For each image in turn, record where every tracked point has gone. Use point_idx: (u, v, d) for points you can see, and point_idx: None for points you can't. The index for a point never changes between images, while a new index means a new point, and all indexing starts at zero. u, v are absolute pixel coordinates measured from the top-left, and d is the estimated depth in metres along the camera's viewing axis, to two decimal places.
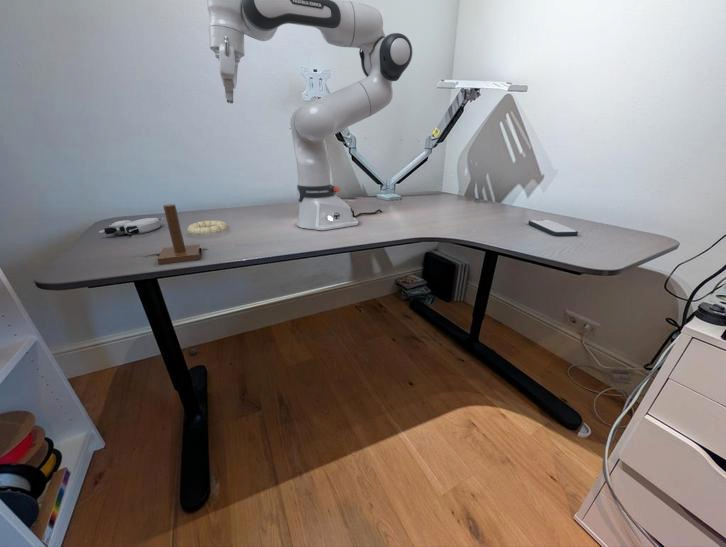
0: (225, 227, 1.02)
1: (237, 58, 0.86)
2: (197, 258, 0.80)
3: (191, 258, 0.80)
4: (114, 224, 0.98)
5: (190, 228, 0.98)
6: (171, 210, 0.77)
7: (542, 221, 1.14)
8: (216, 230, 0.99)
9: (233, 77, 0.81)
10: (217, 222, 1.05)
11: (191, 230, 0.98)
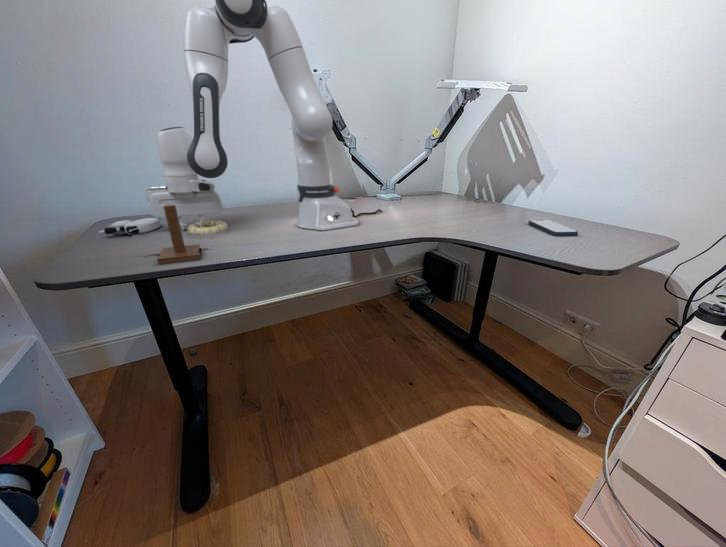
0: (225, 227, 1.02)
1: (177, 196, 0.94)
2: (197, 258, 0.80)
3: (191, 258, 0.80)
4: (114, 224, 0.98)
5: (190, 228, 0.98)
6: (171, 210, 0.77)
7: (542, 221, 1.14)
8: (216, 230, 0.99)
9: (154, 217, 0.95)
10: (217, 222, 1.05)
11: (191, 230, 0.98)
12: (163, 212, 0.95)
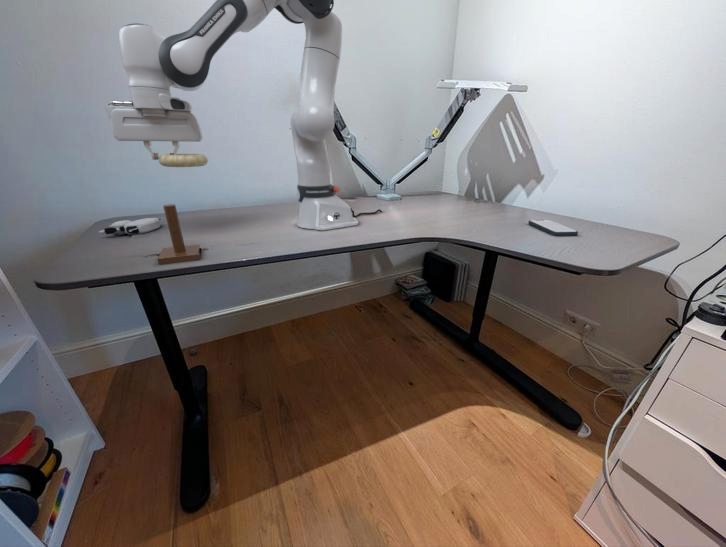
0: (204, 158, 0.87)
1: (145, 114, 0.79)
2: (197, 258, 0.80)
3: (191, 258, 0.80)
4: (114, 224, 0.98)
5: (161, 156, 0.83)
6: (171, 210, 0.77)
7: (542, 221, 1.14)
8: (192, 159, 0.84)
9: (118, 139, 0.79)
10: (195, 155, 0.90)
11: (162, 158, 0.82)
12: (128, 133, 0.79)
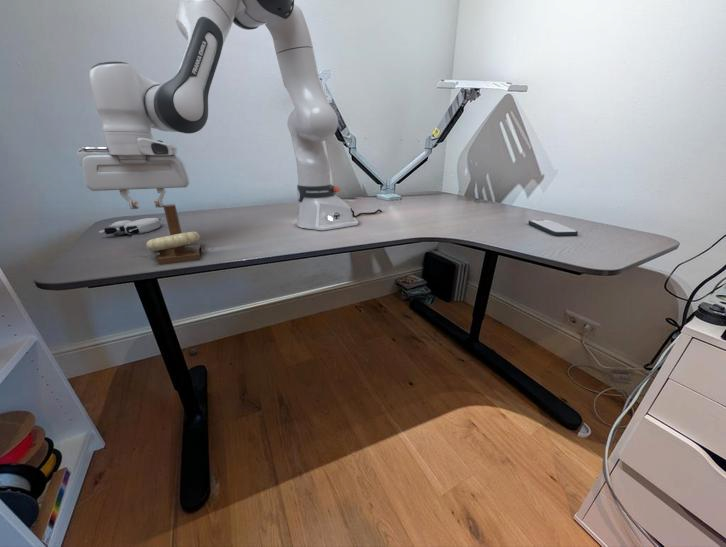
0: (194, 235, 0.80)
1: (122, 161, 0.69)
2: (197, 258, 0.80)
3: (191, 258, 0.80)
4: (114, 224, 0.98)
5: (149, 241, 0.77)
6: (171, 210, 0.77)
7: (542, 221, 1.14)
8: (181, 237, 0.77)
9: (91, 189, 0.69)
10: None
11: (149, 242, 0.76)
12: (103, 183, 0.69)
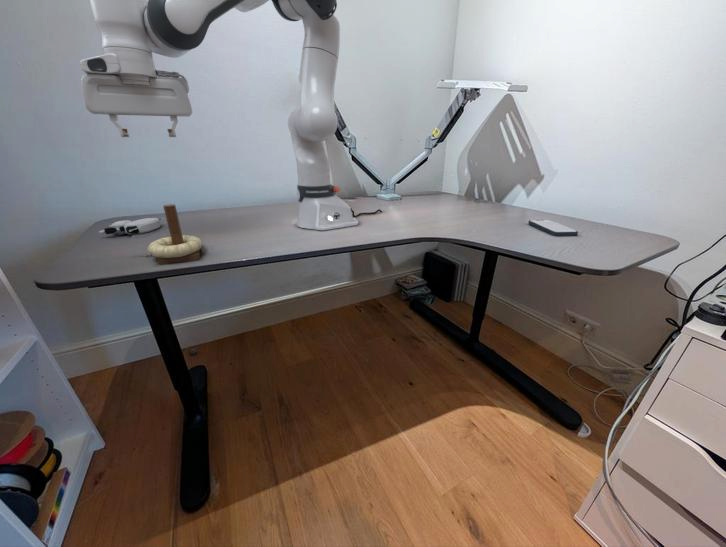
0: (198, 244, 0.81)
1: None
2: (197, 258, 0.80)
3: (191, 258, 0.80)
4: (114, 224, 0.98)
5: (151, 247, 0.77)
6: (171, 210, 0.77)
7: (542, 221, 1.14)
8: (185, 249, 0.77)
9: None
10: (188, 237, 0.83)
11: (152, 249, 0.76)
12: None
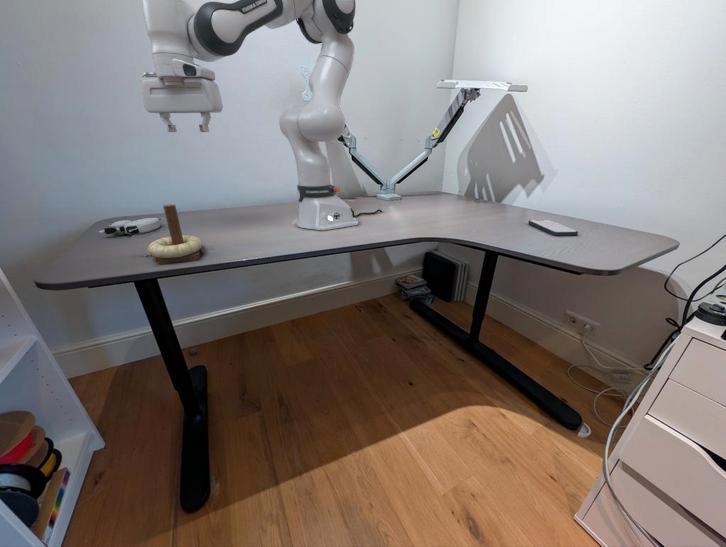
0: (198, 244, 0.81)
1: (165, 84, 0.77)
2: (197, 258, 0.80)
3: (191, 258, 0.80)
4: (114, 224, 0.98)
5: (151, 247, 0.77)
6: (171, 210, 0.77)
7: (542, 221, 1.14)
8: (185, 249, 0.77)
9: (148, 111, 0.81)
10: (188, 237, 0.83)
11: (152, 249, 0.76)
12: (154, 105, 0.80)
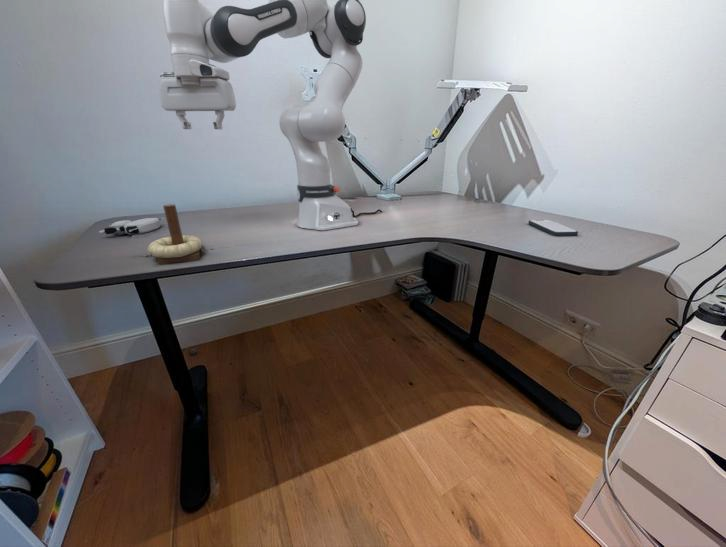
0: (198, 244, 0.81)
1: (182, 83, 0.81)
2: (197, 258, 0.80)
3: (191, 258, 0.80)
4: (114, 224, 0.98)
5: (151, 247, 0.77)
6: (171, 210, 0.77)
7: (542, 221, 1.14)
8: (185, 249, 0.77)
9: (165, 109, 0.85)
10: (188, 237, 0.83)
11: (152, 249, 0.76)
12: (171, 103, 0.84)
